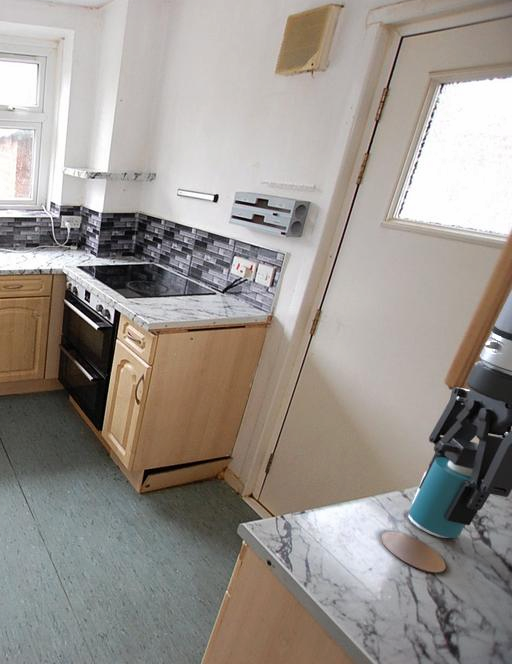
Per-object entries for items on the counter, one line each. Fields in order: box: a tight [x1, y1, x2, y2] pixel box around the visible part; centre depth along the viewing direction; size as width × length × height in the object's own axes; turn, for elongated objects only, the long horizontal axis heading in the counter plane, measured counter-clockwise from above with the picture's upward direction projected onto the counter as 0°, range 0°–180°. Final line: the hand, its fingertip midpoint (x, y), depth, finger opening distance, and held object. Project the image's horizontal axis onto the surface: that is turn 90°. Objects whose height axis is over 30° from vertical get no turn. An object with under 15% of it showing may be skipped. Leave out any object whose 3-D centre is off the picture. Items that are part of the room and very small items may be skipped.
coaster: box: [381, 531, 447, 574], centre depth 83 cm, size 9×9×1 cm
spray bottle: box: [408, 438, 483, 539], centre depth 68 cm, size 7×6×14 cm
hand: (442, 505), depth 70 cm, fingers closed on spray bottle, 6 cm apart
